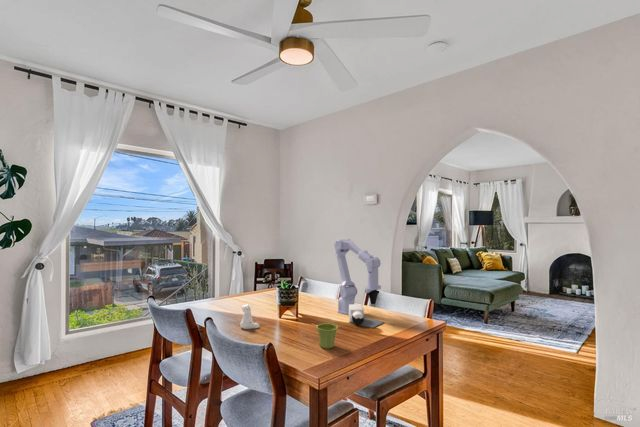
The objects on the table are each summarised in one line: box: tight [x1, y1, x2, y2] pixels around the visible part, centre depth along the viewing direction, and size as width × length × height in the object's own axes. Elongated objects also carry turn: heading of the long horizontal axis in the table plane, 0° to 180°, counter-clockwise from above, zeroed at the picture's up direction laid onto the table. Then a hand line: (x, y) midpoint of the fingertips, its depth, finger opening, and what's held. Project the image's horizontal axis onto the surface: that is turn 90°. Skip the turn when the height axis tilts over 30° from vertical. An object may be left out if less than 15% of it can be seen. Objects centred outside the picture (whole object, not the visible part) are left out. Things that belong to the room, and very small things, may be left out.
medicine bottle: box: [348, 303, 365, 326], centre depth 188 cm, size 7×7×12 cm
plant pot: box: [316, 323, 339, 349], centre depth 153 cm, size 9×9×9 cm
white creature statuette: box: [239, 303, 260, 330], centre depth 180 cm, size 10×9×12 cm
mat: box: [348, 317, 385, 329], centre depth 188 cm, size 15×12×1 cm
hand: (373, 303), depth 193 cm, fingers closed
